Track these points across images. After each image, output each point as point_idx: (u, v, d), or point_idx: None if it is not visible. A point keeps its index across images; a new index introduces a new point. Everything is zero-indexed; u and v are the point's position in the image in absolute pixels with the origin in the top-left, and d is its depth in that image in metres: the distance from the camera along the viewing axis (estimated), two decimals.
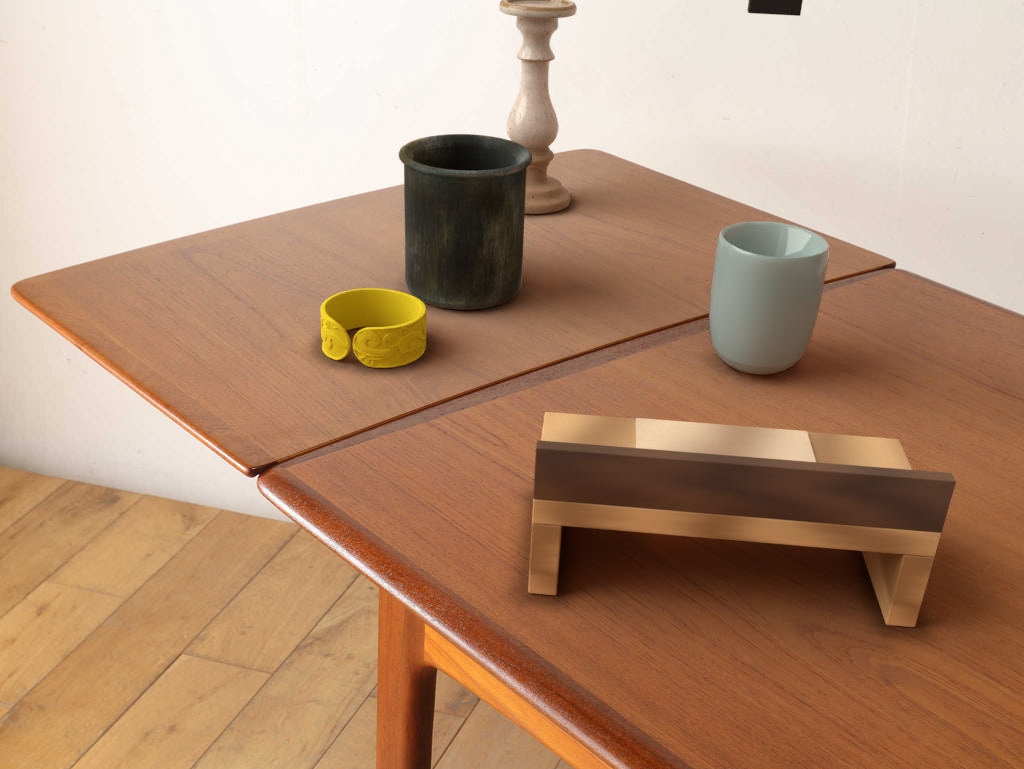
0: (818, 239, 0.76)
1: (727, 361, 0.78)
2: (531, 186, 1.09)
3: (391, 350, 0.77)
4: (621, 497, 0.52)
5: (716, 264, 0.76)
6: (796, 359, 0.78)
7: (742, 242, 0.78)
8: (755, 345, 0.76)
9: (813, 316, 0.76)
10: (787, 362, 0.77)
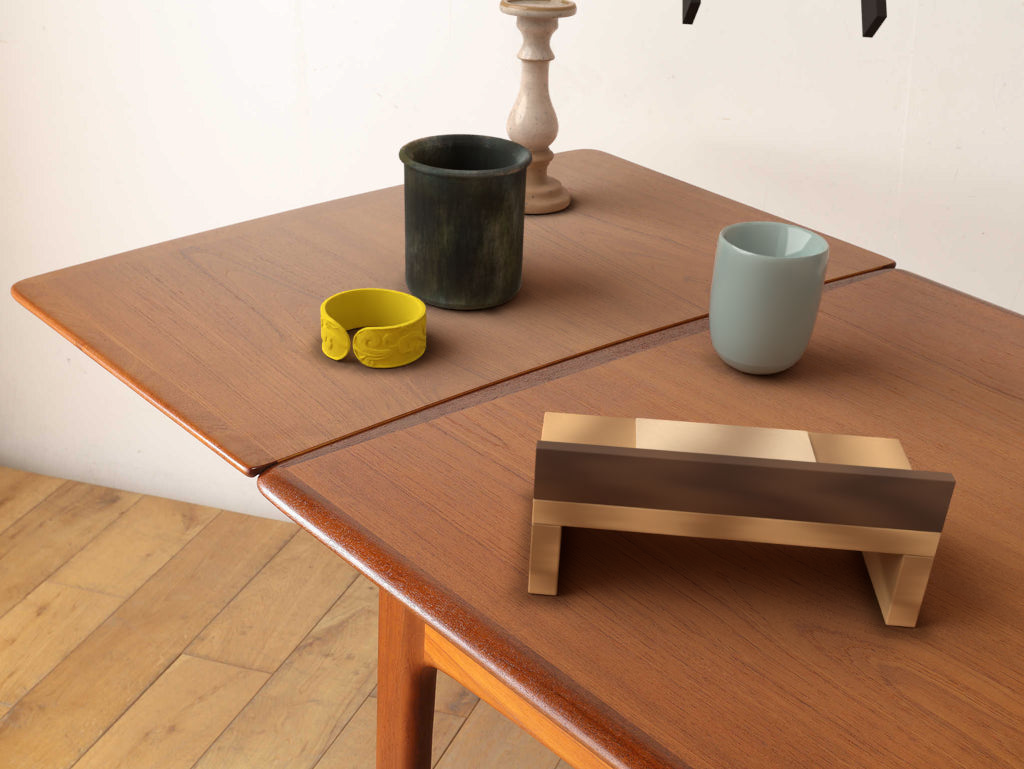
0: (818, 239, 0.76)
1: (727, 361, 0.78)
2: (531, 186, 1.09)
3: (391, 350, 0.77)
4: (621, 497, 0.52)
5: (716, 264, 0.76)
6: (796, 359, 0.78)
7: (742, 242, 0.78)
8: (755, 345, 0.76)
9: (813, 316, 0.76)
10: (787, 362, 0.77)
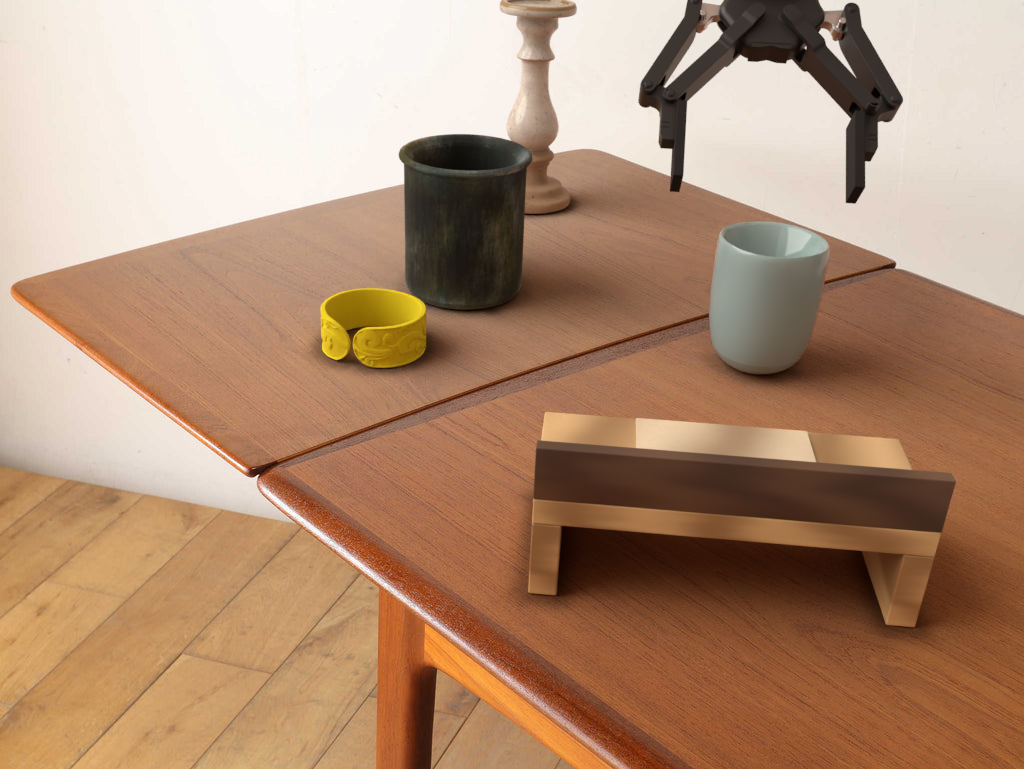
0: (818, 239, 0.76)
1: (727, 361, 0.78)
2: (531, 186, 1.09)
3: (391, 350, 0.77)
4: (621, 497, 0.52)
5: (716, 264, 0.76)
6: (796, 359, 0.78)
7: (742, 242, 0.78)
8: (755, 345, 0.76)
9: (813, 316, 0.76)
10: (787, 362, 0.77)
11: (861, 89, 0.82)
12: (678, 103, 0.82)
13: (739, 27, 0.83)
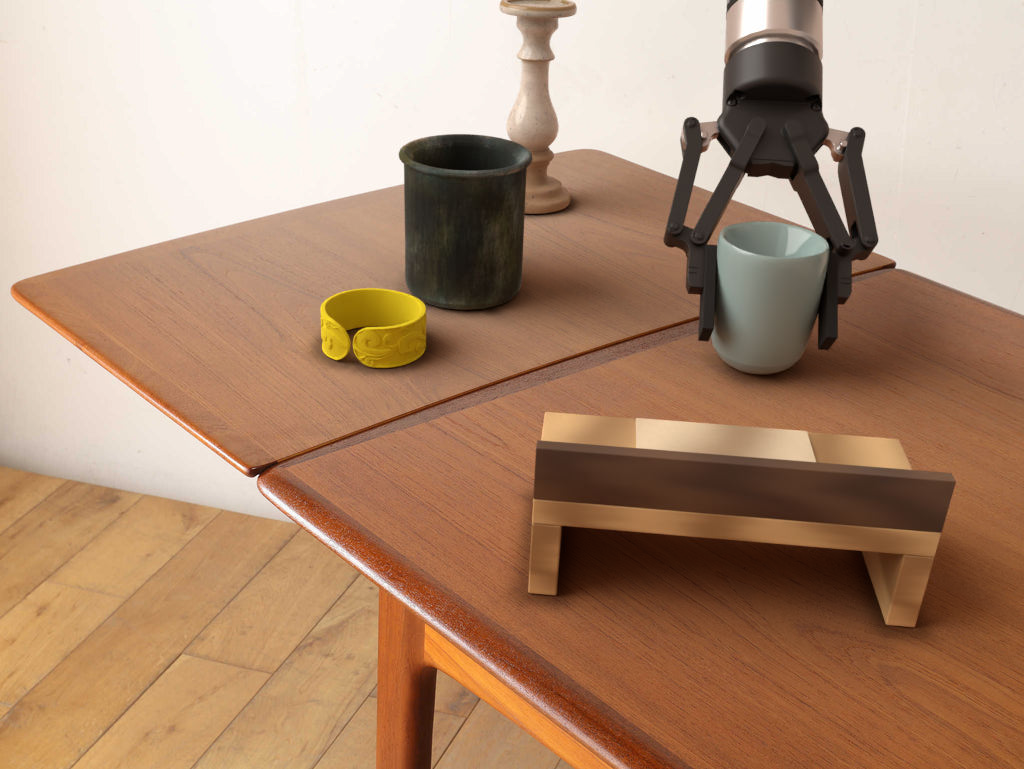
0: (818, 239, 0.76)
1: (727, 361, 0.78)
2: (531, 186, 1.09)
3: (391, 350, 0.77)
4: (621, 497, 0.52)
5: (716, 264, 0.76)
6: (796, 359, 0.78)
7: (742, 242, 0.78)
8: (755, 345, 0.76)
9: (813, 316, 0.76)
10: (787, 362, 0.77)
11: (839, 227, 0.77)
12: (707, 248, 0.76)
13: (746, 148, 0.78)
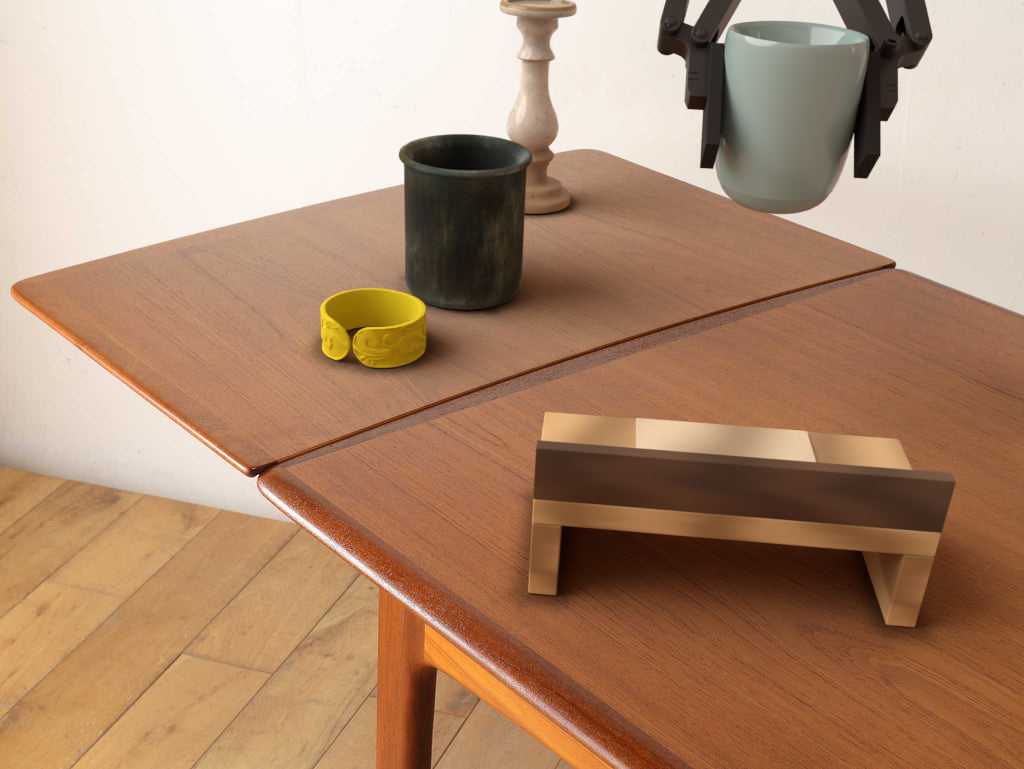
0: (855, 35, 0.59)
1: (737, 197, 0.61)
2: (531, 186, 1.09)
3: (391, 350, 0.77)
4: (621, 497, 0.52)
5: (723, 67, 0.60)
6: (825, 192, 0.61)
7: None
8: (773, 169, 0.59)
9: (848, 133, 0.59)
10: (814, 194, 0.60)
11: (882, 21, 0.60)
12: (712, 47, 0.60)
13: None
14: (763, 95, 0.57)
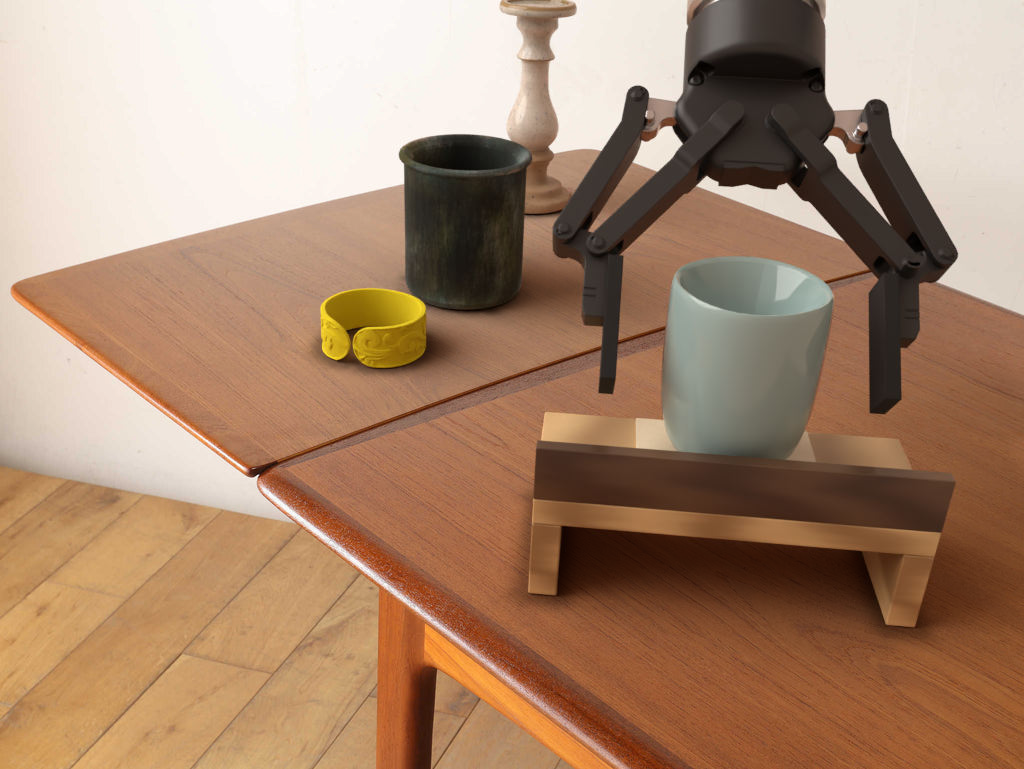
0: (817, 284, 0.52)
1: None
2: (531, 186, 1.09)
3: (391, 350, 0.77)
4: (621, 497, 0.52)
5: (669, 320, 0.52)
6: (786, 457, 0.54)
7: (708, 287, 0.54)
8: (725, 440, 0.52)
9: (810, 397, 0.52)
10: None
11: (892, 238, 0.53)
12: (610, 259, 0.53)
13: (704, 139, 0.54)
14: (712, 364, 0.50)
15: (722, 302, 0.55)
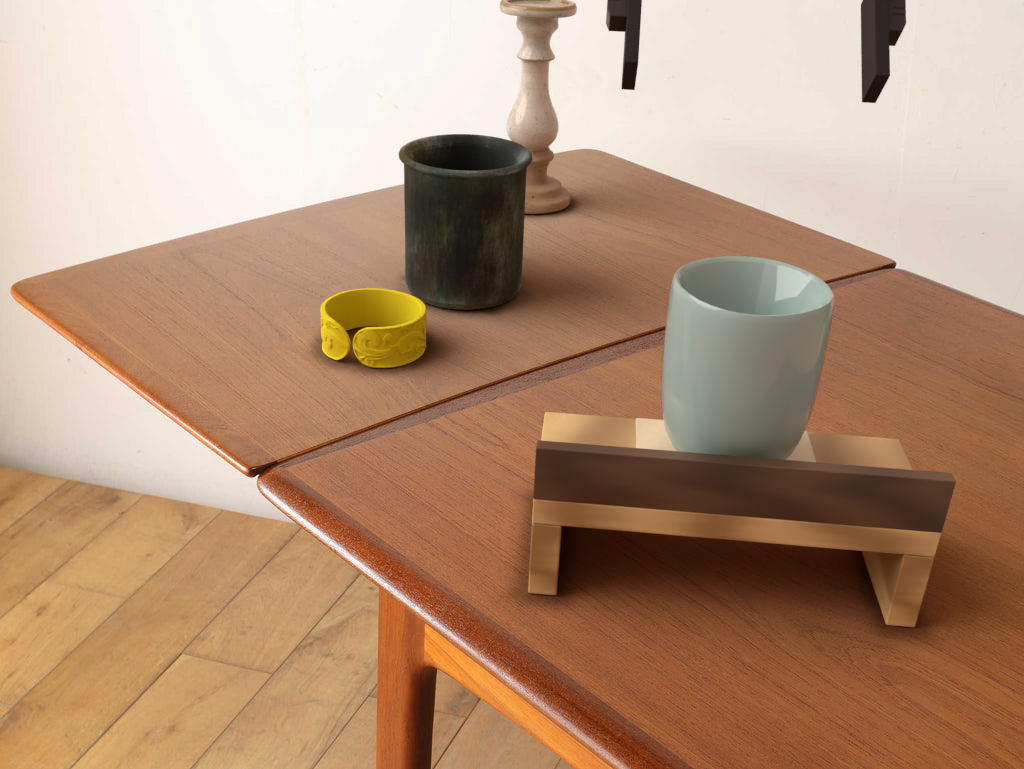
0: (817, 284, 0.52)
1: None
2: (531, 186, 1.09)
3: (391, 350, 0.77)
4: (621, 497, 0.52)
5: (669, 320, 0.52)
6: (786, 457, 0.54)
7: (708, 287, 0.54)
8: (725, 440, 0.52)
9: (810, 397, 0.52)
10: None
11: None
12: None
13: None
14: (712, 364, 0.50)
15: (722, 302, 0.55)
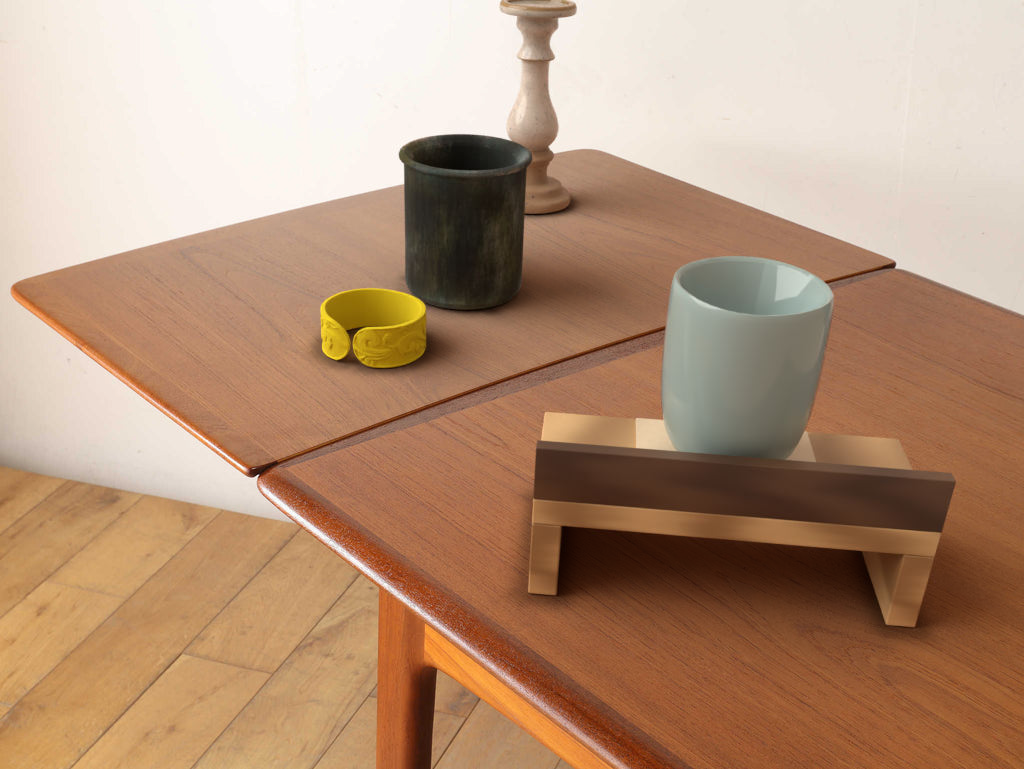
0: (817, 284, 0.52)
1: None
2: (531, 186, 1.09)
3: (391, 350, 0.77)
4: (621, 497, 0.52)
5: (669, 320, 0.52)
6: (786, 457, 0.54)
7: (708, 287, 0.54)
8: (725, 440, 0.52)
9: (810, 397, 0.52)
10: None
11: None
12: None
13: None
14: (712, 364, 0.50)
15: (722, 302, 0.55)
